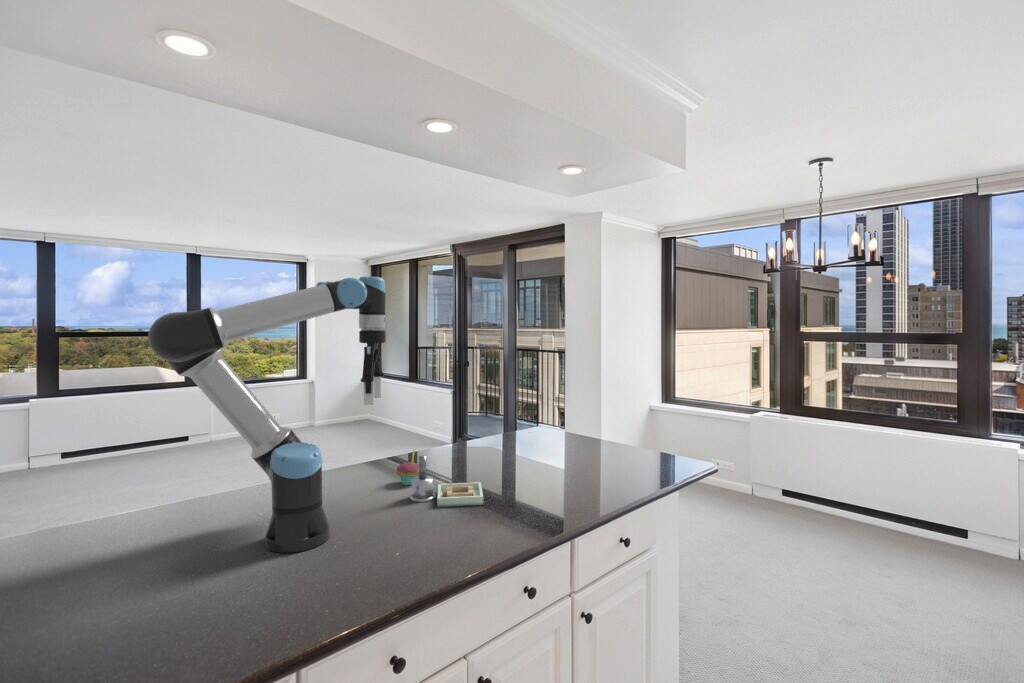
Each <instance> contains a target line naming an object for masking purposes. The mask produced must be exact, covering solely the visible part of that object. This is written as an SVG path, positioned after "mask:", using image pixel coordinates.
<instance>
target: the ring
mask: <svg viewBox="0 0 1024 683" xmlns="http://www.w3.org/2000/svg"><path fill="white" fill-rule="evenodd" d="M463 496H474V493H473V485H462V486H447V489H442V497H463Z"/></svg>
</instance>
